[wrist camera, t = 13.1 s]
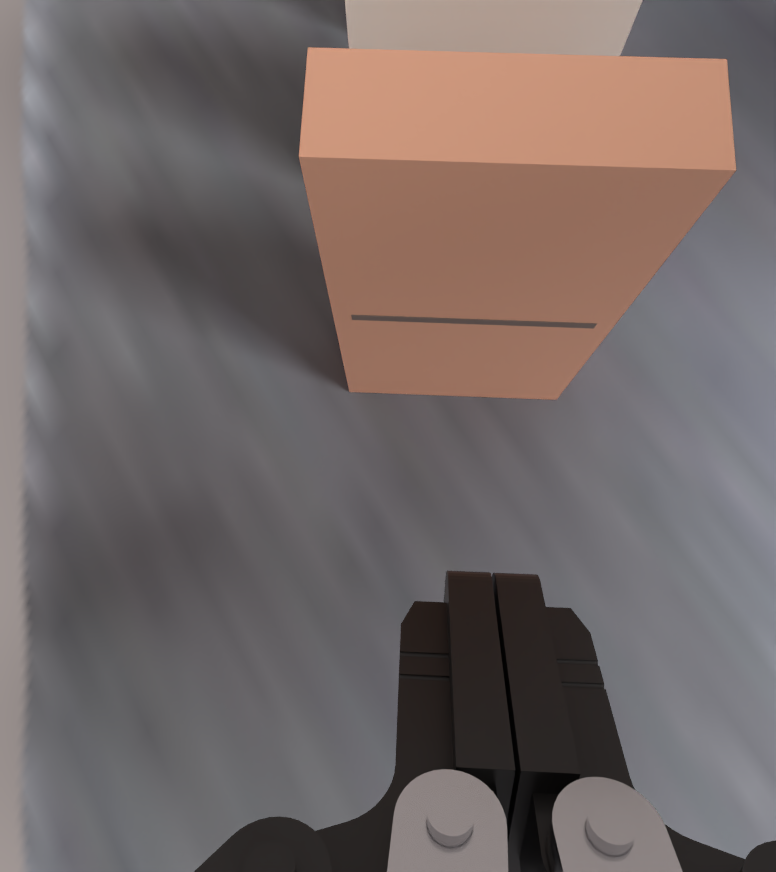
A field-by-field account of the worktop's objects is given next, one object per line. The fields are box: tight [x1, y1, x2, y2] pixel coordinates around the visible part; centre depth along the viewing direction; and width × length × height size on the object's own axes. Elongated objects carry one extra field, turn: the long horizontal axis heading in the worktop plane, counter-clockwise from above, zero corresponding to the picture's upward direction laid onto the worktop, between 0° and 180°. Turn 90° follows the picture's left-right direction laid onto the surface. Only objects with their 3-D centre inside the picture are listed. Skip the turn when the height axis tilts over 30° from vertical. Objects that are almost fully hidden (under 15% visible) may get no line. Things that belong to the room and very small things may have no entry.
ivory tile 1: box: [345, 0, 643, 56], centre depth 17 cm, size 2×6×11 cm, turn 87°
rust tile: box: [299, 47, 736, 400], centre depth 15 cm, size 2×6×11 cm, turn 88°
